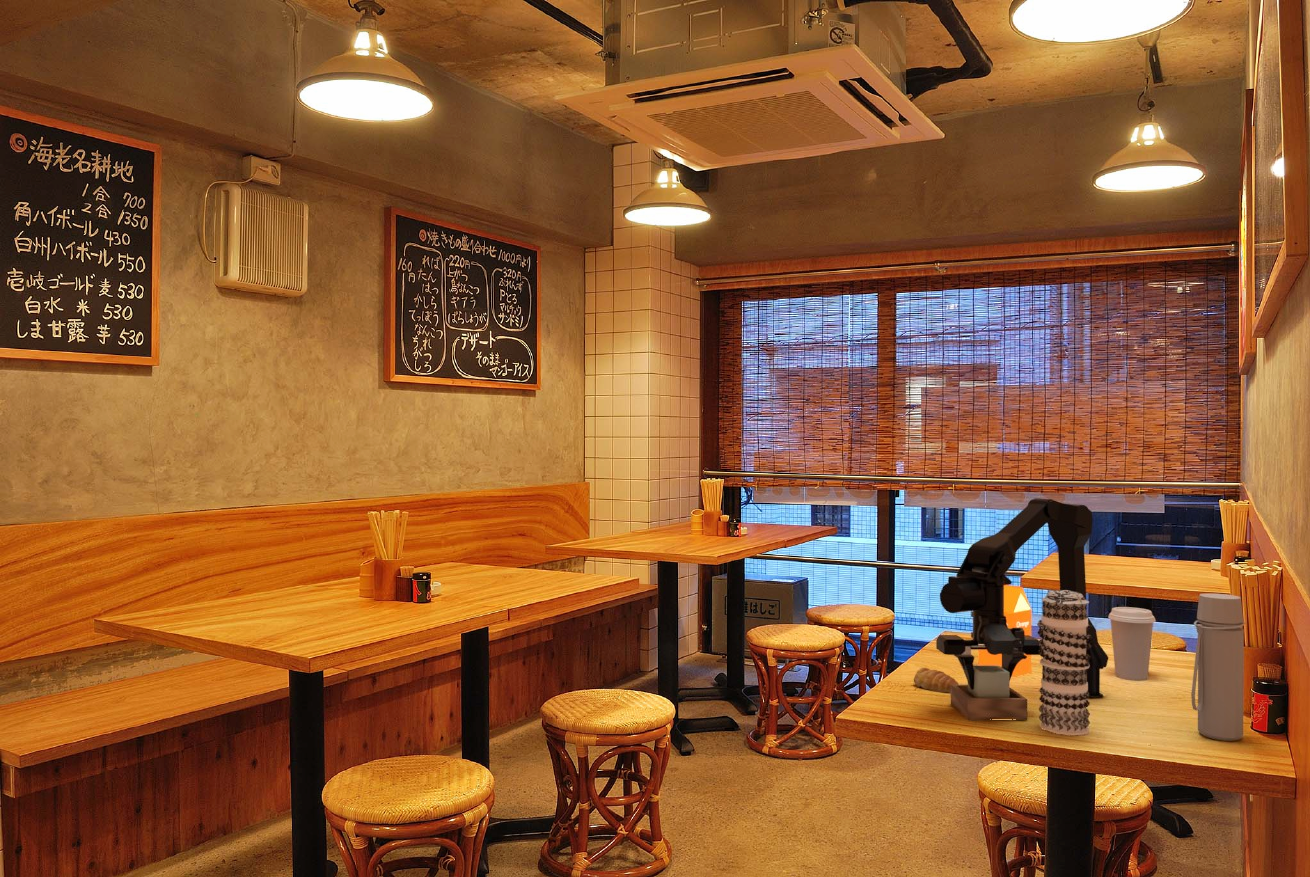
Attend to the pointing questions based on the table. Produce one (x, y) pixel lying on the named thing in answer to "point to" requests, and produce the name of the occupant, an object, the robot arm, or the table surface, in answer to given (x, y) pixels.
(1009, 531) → the robot arm
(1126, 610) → the coffee cup
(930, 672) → the pastry
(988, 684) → the small crate
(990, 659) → the orange juice
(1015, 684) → the table surface
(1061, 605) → the decorative candle
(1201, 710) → the water bottle
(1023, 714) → the big crate
